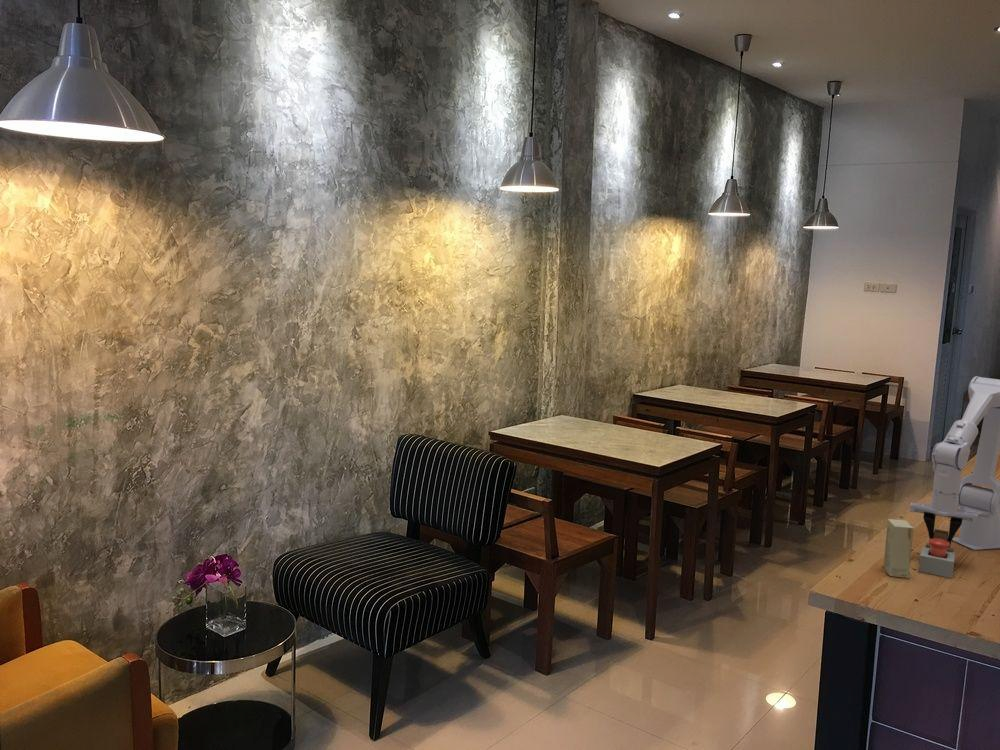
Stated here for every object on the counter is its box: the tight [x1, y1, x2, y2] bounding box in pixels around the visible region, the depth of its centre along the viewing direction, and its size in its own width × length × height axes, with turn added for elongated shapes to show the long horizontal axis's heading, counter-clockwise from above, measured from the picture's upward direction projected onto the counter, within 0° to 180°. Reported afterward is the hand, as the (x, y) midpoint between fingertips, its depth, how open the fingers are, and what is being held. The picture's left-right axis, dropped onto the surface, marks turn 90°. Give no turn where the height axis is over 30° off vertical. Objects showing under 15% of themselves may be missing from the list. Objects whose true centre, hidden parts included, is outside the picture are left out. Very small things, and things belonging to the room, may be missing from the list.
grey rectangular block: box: [918, 546, 956, 579], centre depth 195 cm, size 7×7×4 cm
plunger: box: [928, 538, 951, 558], centre depth 194 cm, size 4×4×5 cm
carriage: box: [925, 528, 954, 553], centre depth 200 cm, size 6×6×7 cm
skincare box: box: [882, 518, 915, 579], centre depth 192 cm, size 6×4×12 cm
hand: (939, 544), depth 200 cm, fingers closed on carriage, 3 cm apart
